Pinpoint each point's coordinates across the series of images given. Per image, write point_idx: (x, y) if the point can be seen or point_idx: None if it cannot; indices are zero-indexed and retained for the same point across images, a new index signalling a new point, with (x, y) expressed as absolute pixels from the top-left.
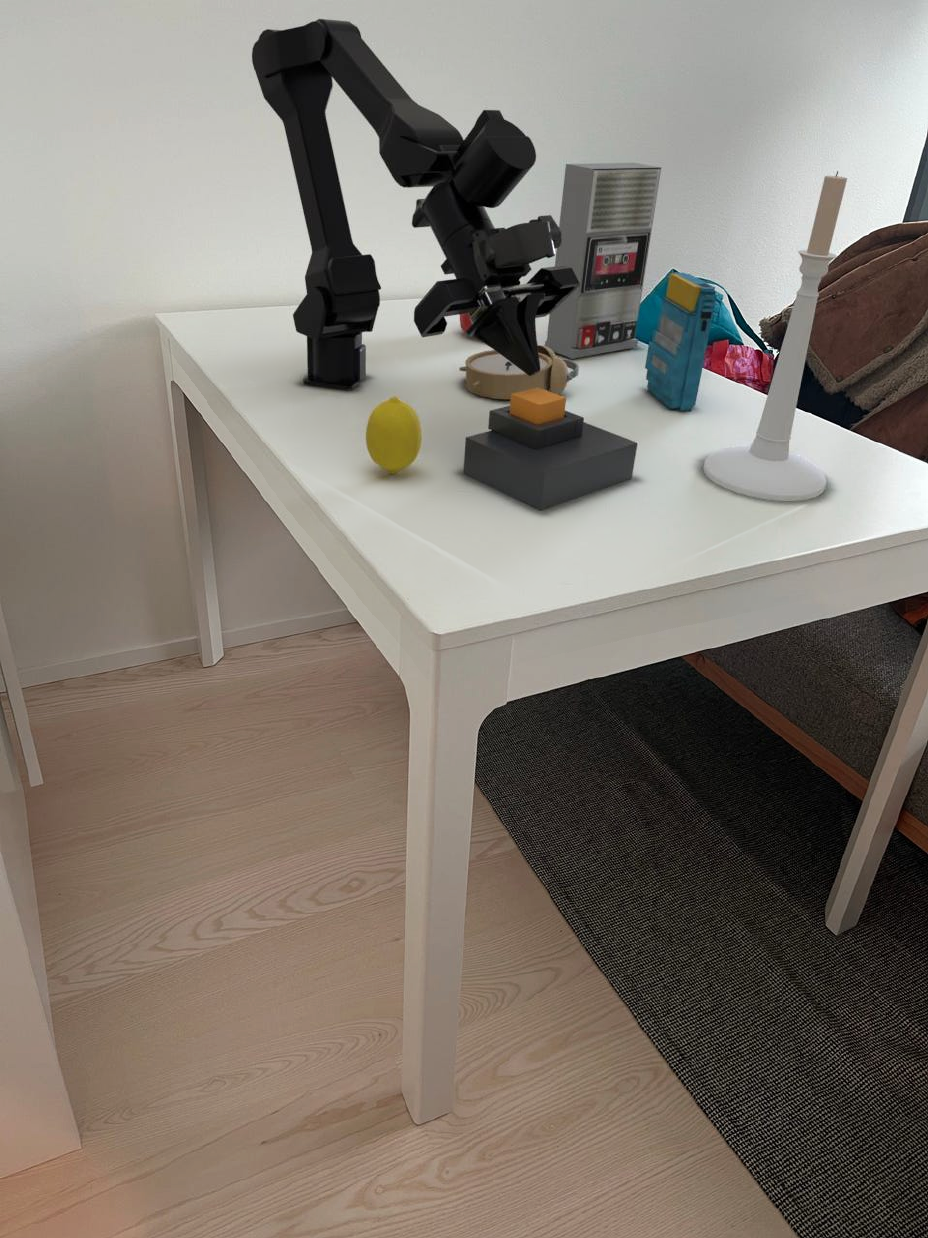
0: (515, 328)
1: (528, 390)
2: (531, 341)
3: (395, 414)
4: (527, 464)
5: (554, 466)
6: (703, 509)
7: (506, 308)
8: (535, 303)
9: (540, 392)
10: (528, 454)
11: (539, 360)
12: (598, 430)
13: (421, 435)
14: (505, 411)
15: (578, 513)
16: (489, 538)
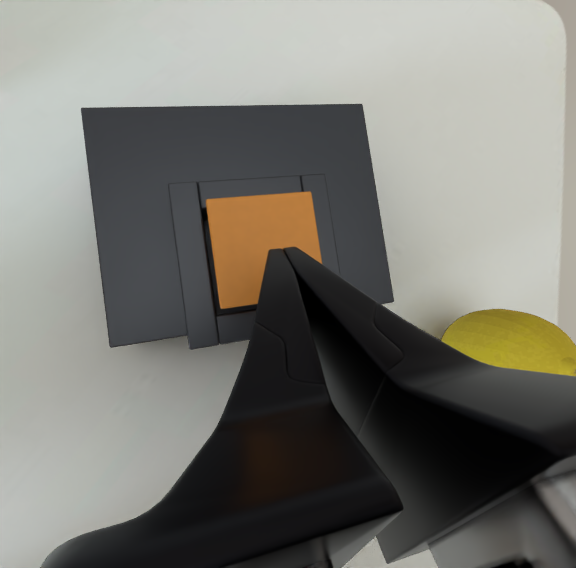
0: (403, 338)
1: None
2: (294, 304)
3: (564, 333)
4: (368, 144)
5: (331, 112)
6: (93, 2)
7: (568, 380)
8: (235, 469)
9: (246, 266)
10: (340, 177)
11: (266, 263)
12: (110, 207)
13: (468, 330)
14: None
15: None
16: (436, 119)
